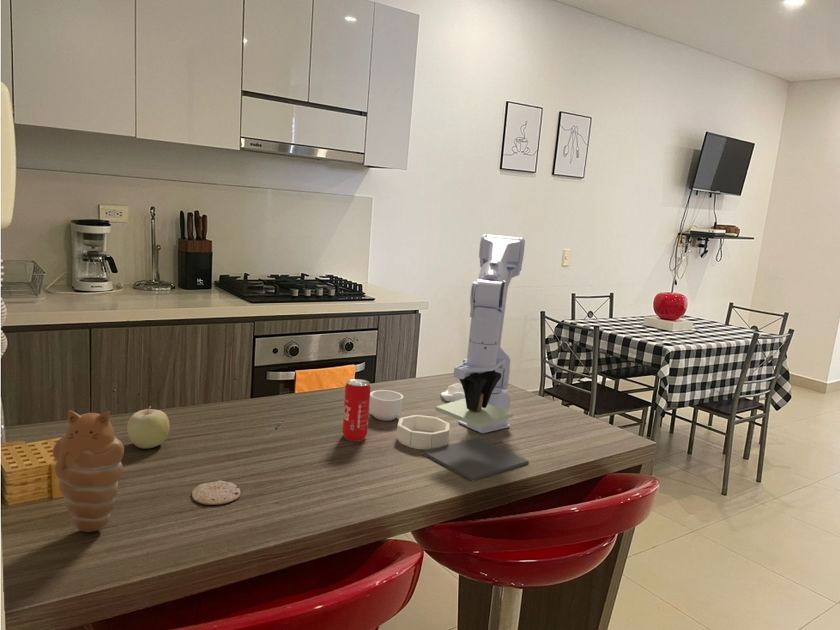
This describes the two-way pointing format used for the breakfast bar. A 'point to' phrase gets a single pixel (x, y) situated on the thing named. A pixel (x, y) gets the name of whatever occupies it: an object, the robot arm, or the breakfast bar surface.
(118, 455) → the cat ice cream
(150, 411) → the fruit
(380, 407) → the teacup
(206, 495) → the flatbread
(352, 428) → the beverage can
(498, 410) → the lid
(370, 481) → the breakfast bar surface
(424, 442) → the bowl
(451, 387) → the white rounded piece
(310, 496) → the breakfast bar surface
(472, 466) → the mat
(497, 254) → the robot arm
